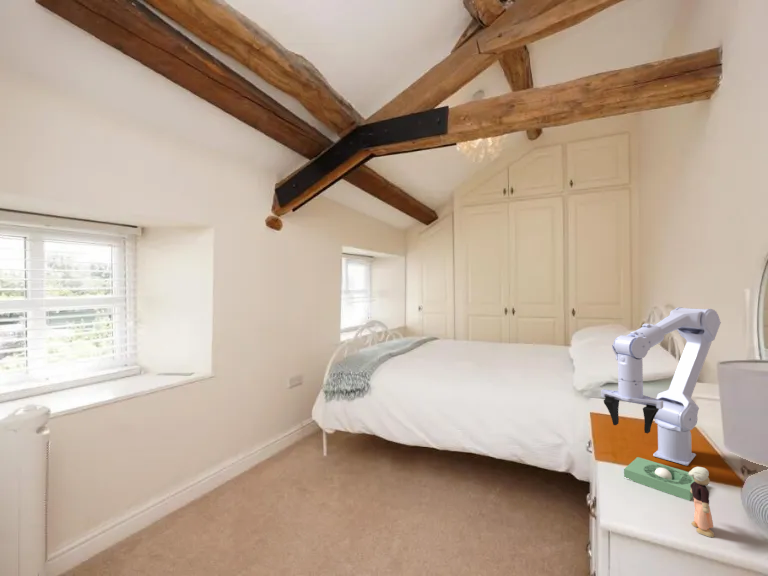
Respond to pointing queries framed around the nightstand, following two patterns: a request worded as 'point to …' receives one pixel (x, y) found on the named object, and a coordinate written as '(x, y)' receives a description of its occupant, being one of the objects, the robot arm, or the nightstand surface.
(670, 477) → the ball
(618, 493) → the nightstand surface
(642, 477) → the green
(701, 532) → the grandmother figurine
